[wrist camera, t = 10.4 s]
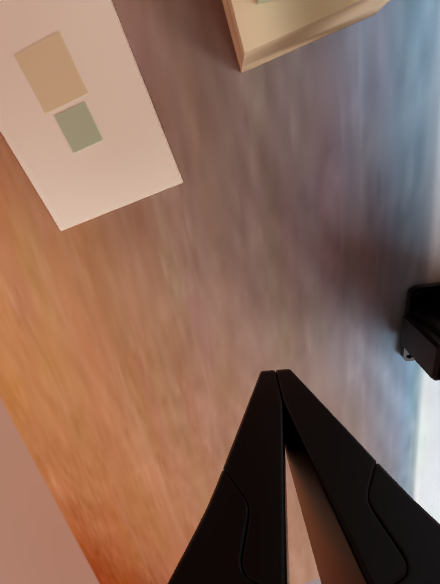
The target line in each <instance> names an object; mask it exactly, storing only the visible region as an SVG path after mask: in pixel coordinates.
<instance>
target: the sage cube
mask: <svg viewBox="0 0 440 584" xmlns="http://www.w3.org/2000/svg"><path fill="white" fill-rule="evenodd" d="M270 1H274V0H257V4H261V3H265V2H270Z"/></svg>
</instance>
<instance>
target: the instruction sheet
mask: <svg viewBox="0 0 440 584" xmlns="http://www.w3.org/2000/svg"><path fill="white" fill-rule="evenodd" d="M0 132H1V133H2V135H3V137H4V138H5V140H6V142H7V143H8V145H9V147H10V148H11V150H12V151H13V153H14V155H15V156H16V158H17V160H18V161H19V163H20V165H21V166H22V168H23V170H24V171H25V173H26V174H27V176H28V178H29V179H30V181H31V183H32V184H33V186H34V188H35V189H36V191H37V193H38V194H39V196H40V198H41V199H42V201H43V202H44V204H45V206H46V207H47V209H48V211H49V212H50V214H51V216H52V217H53V219H54V221H55V222H56V224H57V226H58V227H59V229H60V230H61V231H63V230H65V229H68V228H70V227H73V226H75V225H78V224H80V223H83V222H85V221H88V220H90V219H93V218H95V217H98V216H100V215H103V214H105V213H108V212H111V211H113V210H116V209H118V208H121V207H123V206H126V205H128V204H131V203H133V202H136V201H138V200H141V199H143V198H146V197H148V196H151V195H153V194H156V193H158V192H161V191H163V190H166V189H168V188H171V187H174V186H176V185H179V184H181V183H183V180H182V177H181V175H180V172H179V170H178V167H177V165H176V162H175V159H174V157H173V154H172V152H171V149H170V147H169V144H168V142H167V139H166V137H165V134H164V132H163V129H162V127H161V124H160V122H159V119H158V116H157V114H156V111H155V109H154V106H153V104H152V101H151V99H150V96H149V94H148V91H147V89H146V86H145V84H144V81H143V78H142V76H141V73H140V71H139V68H138V66H137V63H136V61H135V58H134V56H133V53H132V51H131V48H130V46H129V43H128V41H127V38H126V35H125V33H124V30H123V28H122V25H121V23H120V20H119V18H118V15H117V13H116V10H115V8H114V5H113V3H112V0H0Z"/></svg>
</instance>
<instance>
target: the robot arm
mask: <svg viewBox="0 0 440 584" xmlns="http://www.w3.org/2000/svg"><path fill="white" fill-rule="evenodd" d="M418 291H419V292H418ZM416 292H418V293H417V294H416V295H414V294H415V293H416ZM400 343H401V345H402V346H401V356H402V357H403V358H404V360H406V361H413V360H416V362H417V363H418V364H419V365H420V366H421V367H422V368H423V369H424V371H425V372H426V373H427V374H428V375H429V376H430V377H431V378H432V379H433V380H440V282H439V283H431V284H424V285H417V286H413V287H411V288H410V289H409V290H408V293H407V302H406V311H405V315H404V317H403V322H402V331H401V340H400ZM408 354H409V355H408ZM285 450H286V455H287V459H288V463H289V466H290V470H291V473H292V477H293V481H294V484H295V488H296V492H297V495H298V499H299V503H300V506H301V510H302V514H303V517H304V521H305V525H306V528H307V532H308V536H309V539H310V543H311V547H312V550H313V554H314V558H315V561H316V565H317V569H318V572H319V576H320V580H321V583H322V584H440V524H439V523H438V522H437V521H436V520H435V519H434V518H433V517H432V516H430V515H429V514H428V513H427V512H426V511H425V510H424V509H423V508H422V507H421V506H420V505H419V504H418V503H417V502H415V501H414V500H413V499H412V498H411V497H410V496H409V495H408V494H407V493H406V491H405V490H404V489H403V488H402V487H401V486H400V485H399V484H398V483H397V482H396V481H395V480H394V479H393V478H392V477H391V476H390V475H389V474H388V473H387V472H386V471H385V470H384V469H383V468H382V466H381V465H380V464H376V460H375V459H374V458H373V457H372V456H371V455H370V454H369V453H368V452H367V451H366V450H365V449H364V447H363V446H362V445H361V444H360V443H359V442H358V441H357V440H356V439H355V438H354V437H353V436H352V435H351V434H350V433H349V432H348V430H347V429H346V428H345V427H344V426H343V425H342V424H341V423H340V422H339V421H338V420H337V419H336V418H335V417H334V416H333V414H332V413H331V412H330V411H329V410H328V409H327V408H326V407H325V406H324V405H323V404H322V403H321V402H320V401H319V400H318V399H317V397H316V396H315V395H314V394H313V393H312V392H311V391H310V390H309V389H308V388H307V387H306V386H305V385H304V384H303V383H302V381H301V380H300V379H299V378H298V377H297V376H296V375H295V374H294V373H293V372H292V371H291V370H290V369H283V370H277V371H276V372H275V371H274V370H270V371H262V372H261V373H260V375H259V378H258V380H257V383H256V385H255V388H254V391H253V393H252V396H251V398H250V401H249V403H248V406H247V409H246V411H245V414H244V416H243V419H242V421H241V424H240V427H239V429H238V432H237V434H236V437H235V440H234V442H233V445H232V447H231V450H230V452H229V455H228V458H227V460H226V463H225V465H224V468H223V470H224V471H222V473H221V475H220V478H219V480H218V483H217V485H216V488H215V490H214V493H213V495H212V497H211V500H210V502H209V504H208V507H207V509H206V511H205V513H204V515H203V517H202V519H201V521H200V523H199V525H198V527H197V529H196V531H195V533H194V535H193V537H192V539H191V541H190V542H189V544H188V546H187V548H186V550H185V552H184V554H183V556H182V558H181V559H180V561H179V563H178V565H177V567H176V569H175V571H174V573H173V574H172V576H171V578H170V580H169V582H168V584H290V581H289V551H288V521H287V491H286V462H285Z"/></svg>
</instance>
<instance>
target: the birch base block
mask: <svg viewBox="0 0 440 584" xmlns="http://www.w3.org/2000/svg"><path fill="white" fill-rule="evenodd" d="M389 1H390V0H274V1H270V2H265V3H261V4H257V0H222V3H223V7H224V11H225V14H226V18H227V22H228V26H229V29H230V33H231V37H232V41H233V44H234V48H235V52H236V56H237V60H238V63H239V67H240V71H241V73H243V72H245V71H247V70H250V69H252V68H254V67H256V66H259V65H261V64H263V63H266V62H268V61H270V60H272V59H275V58H277V57H279V56H281V55H284V54H286V53H288V52H291V51H293V50H295V49H297V48H300V47H302V46H304V45H306V44H309V43H311V42H313V41H316V40H318V39H320V38H322V37H325V36H327V35H329V34H332V33H334V32H336V31H338V30H341V29H343V28H345V27H347V26H350V25H352V24H354V23H357V22H359V21H361V20H363V19H366V18H368V17H370V16H373V15H375V14H376V13H377V12H378V11H379V10H380V9H381V8H382V7H383V6H384V5H385V4H386V3H388V2H389Z"/></svg>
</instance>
